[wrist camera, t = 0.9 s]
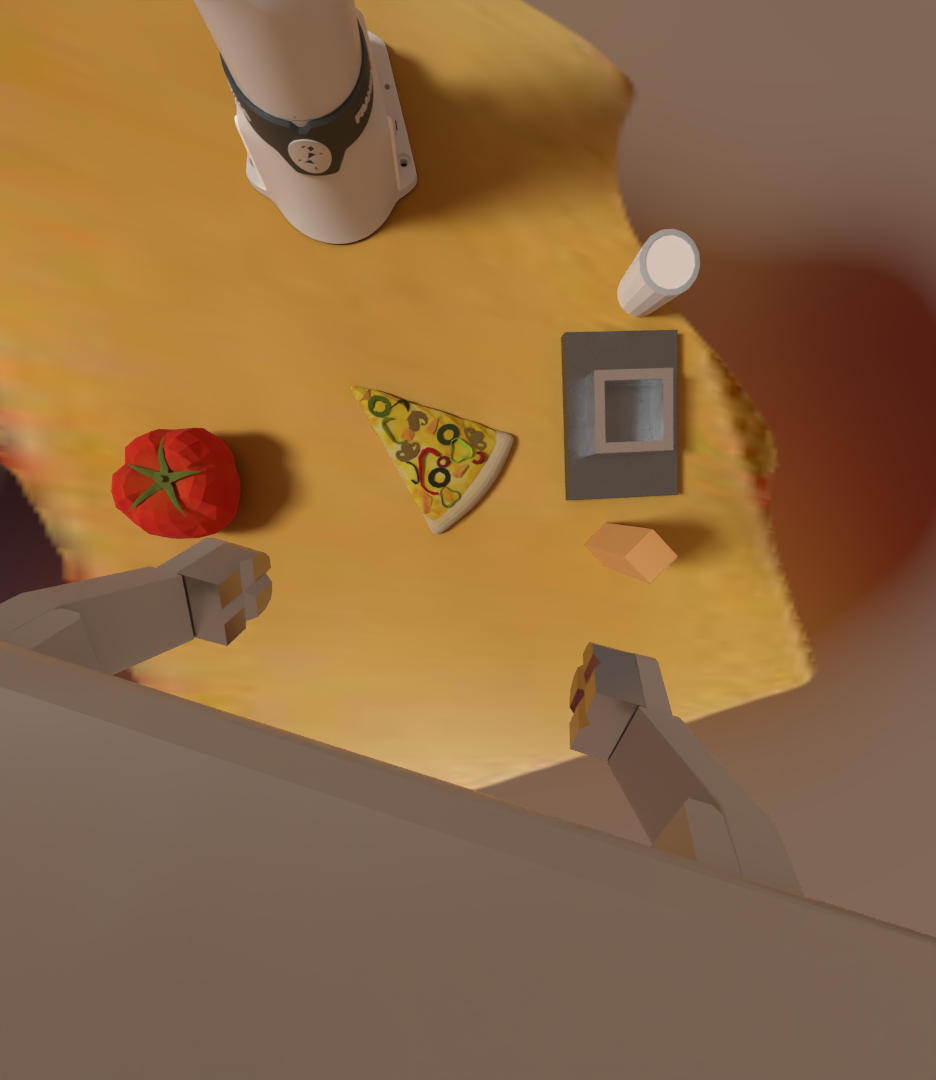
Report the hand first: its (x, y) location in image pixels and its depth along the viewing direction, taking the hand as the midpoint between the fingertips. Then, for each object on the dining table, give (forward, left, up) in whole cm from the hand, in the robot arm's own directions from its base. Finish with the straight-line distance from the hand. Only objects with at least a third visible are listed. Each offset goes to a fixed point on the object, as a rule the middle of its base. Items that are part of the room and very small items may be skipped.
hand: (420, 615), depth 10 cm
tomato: (-6, -27, -43) cm, 51 cm away
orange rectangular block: (+4, +22, -43) cm, 48 cm away
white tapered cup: (-27, +27, -43) cm, 58 cm away
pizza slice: (-10, -1, -44) cm, 45 cm away
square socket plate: (-12, +24, -43) cm, 51 cm away
